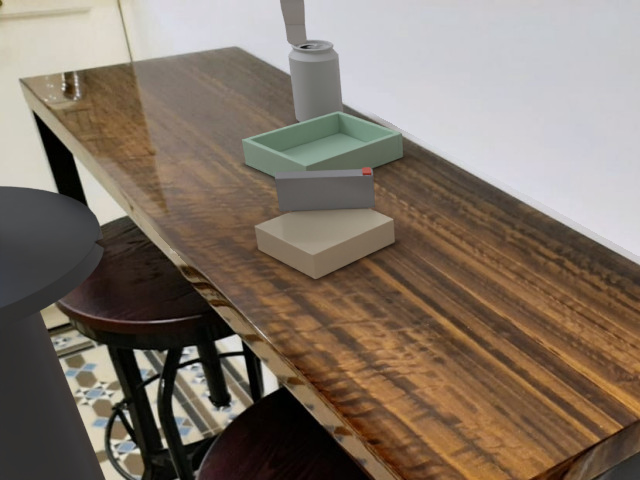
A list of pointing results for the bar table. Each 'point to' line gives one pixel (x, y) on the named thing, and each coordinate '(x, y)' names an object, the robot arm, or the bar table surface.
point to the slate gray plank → (325, 189)
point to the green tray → (323, 145)
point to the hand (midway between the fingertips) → (296, 30)
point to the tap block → (324, 238)
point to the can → (315, 79)
